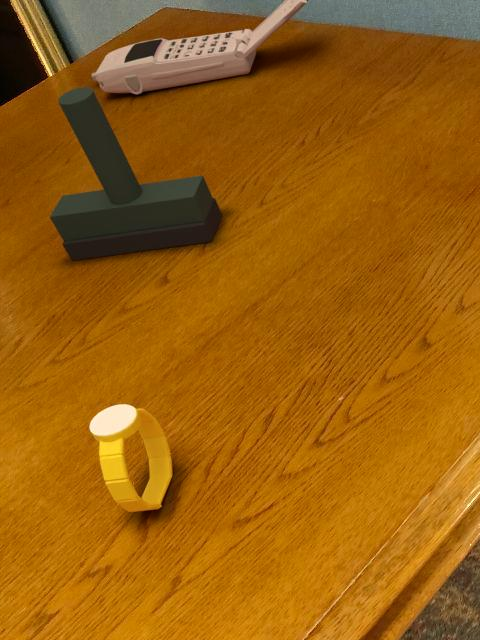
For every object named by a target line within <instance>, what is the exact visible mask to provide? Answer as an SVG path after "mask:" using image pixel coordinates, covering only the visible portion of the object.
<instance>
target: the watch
mask: <svg viewBox="0 0 480 640" xmlns="http://www.w3.org/2000/svg"><path fill="white" fill-rule="evenodd" d="M89 431H90V433H91V435H92V436H93V438H94V440H95V441H97V442H98V443H99V444H98V457H99V464H100V469H101V473H102V477H103V481H104V483H105V486H106V489H108V491H109V493H110V496H111V497H112V499H113V500H114V501H115V503H116V504H118V505H119V506H120V507H121V508H123V509H124V511H125V512H129V513H134V512H144V511H154V510H159V509H160V508H162V506H163V505H162V502H163V500H164V499H165V495H166V493H167V490H168V488H169V486H170V483H171V480H172V478H173V460H172V456H171V455H172V453H171V450H170V446H169V443H168V439H167V436H166V434H165V431H164V430H163V428H162V426H161V425H160V423H159V421H158V420H157V418H156V417H155V416H154V415H153V414H151V413H150V412H149V411H147V410H145V409H144V408H142V407H139V408H136V407H134V406H133V405H131V404H126V403H124V404H123V403H122V404H115V405H111V406H109V407H107V408H104V409H102V410H101V411H99V412H98V413H97V414H96V415H95V416H94V417H93V418H92V419H91V421H90V423H89ZM137 432H138V433H139V435H140V436H141V438H142V441H143V445H144V447H145V451H146V454H147V457H148V472H149V473H148V475H149V478H148V482H147V484H146V486H145V489H144V491H143V493H142V495H141V496H139V494H138V492H137V491H136V488H135V487H134V484H133V483H132V481H131V479H130V476H129V471H128V467H127V461H126V457H125V440H127V439H129V438H130V437H132V436H133V435H134V434H136V433H137Z"/></svg>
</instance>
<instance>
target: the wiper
mask: <svg viewBox="0 0 480 640" xmlns="http://www.w3.org/2000/svg"><path fill="white" fill-rule="evenodd" d="M57 102H58V104H59V106H60V109H61V110H62V112H63V114H64V116H65V118H66V119H67V122H68V124H69V126H70V127H71V129H72V131H73V133H74V135H75V137H76V139H77V141H78V142H79V145H80V146H81V149H82V150H83V152H84V154H85V156H86V158H87V160H88V162H89V164H90V166H91V167H92V169H93V171H94V173H95V176H96V177H97V179H98V181H99V183H100V185H101V187H102V189H99V190H93V191H91V190H90V191H83V192H79V193H71V194H65V195H61V197H60V199H59V200H58V201H57V203H56V205H55V207H54V208H53V210H52V212H51V214H50V215H49V219H50V221H51V222H52V224H53V226H54V227H55V230H56V231H57V233H58V234H59V236H60V238H61V239H62V243H61V245H62V247H63V248H64V250H65V252H66V253H67V255H68V257H69V258H70V260H71V262H73V261H80V260H87V259H88V260H89V259H95V258H101V257H103V258H104V257H110V256H117V255H124V254H131V253H139V252H146V251H154V250H162V249H167V248H176V247H183V246H190V245H199V244H206V243H211V242H213V240H214V237H215V235H216V232H217V229H218V227H219V225H220V222H221V219H222V216H223V212H222V211H221V208H220V206H219V204H218V202H217V199H216V198H215V197H213V195H212V193H211V191H210V188H209V186H208V184H207V182H206V179H205V177H204V175H195V176H189V177H182V178H175V179H174V178H173V179H169V180H167V179H166V180H161V181H153V182H148V183H146V182H145V183H140V182H139V181H138V179H137V176H136V174H135V173H134V171H133V168H132V166H131V165H130V162H129V160H128V158H127V156H126V153H125V152H124V150H123V148H122V146H121V144H120V142H119V140H118V138H117V136H116V134H115V131H114V130H113V128H112V126H111V123H110V122H109V120H108V117H107V116H106V113H105V111H104V110H103V107H102V105H101V103H100V102H99V99H98V97H97V95H96V93H95V91H94V89H93V88H92V87H89V86H81V87H76V88H73V89H70V90H67V91H66V92H64V93H62V94H61V95H60V96H59V97H58V99H57Z"/></svg>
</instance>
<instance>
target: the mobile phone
mask: <svg viewBox="0 0 480 640" xmlns="http://www.w3.org/2000/svg"><path fill="white" fill-rule="evenodd" d="M308 2H309V0H284V1H283V2H281V4H279V6H277V8H275V10H273V11H272V12H271V13H270V14H269V15H268V16H267V17H266V18H265V19H264V20H263V21H262V22H261V23H260V24H259V25H258V26H256V28H254V30H252V29H250V28H245V29H244V30H243V29H241V30H233V31H227V32H219V33H211V34H206V35H199V36H191V37H183V38H178V39H170V40H168V39H166V38H163V37H161V38H155V39H149V40H144V41H140V42H136V43H133V44H129V45H125V46H123V47H120V48H117V49H115V50H112V51H110V52H108V53H107V54H106V55H105V57H104V58H103V59H102V61H101V63H100V65H99V67H98V68H97V70H96V71H95V72H92V73H91V78H92V80H93V81H94V82H95V81H97V82H98V85H99V87H100V89H101V90H102V92H104V93H108V94H134V95H141V94H142V93H144V92H145V93H146V92H150V91H156V90H162V89H168V88H173V87H180V86H181V87H182V86H187V85H192V84H199V83H203V82H209V81H214V80H220V79H225V78H231V77H236V76H237V77H238V76H242V75H248V74H249V73H251V69H252V66H253V64H254V61H255V58H256V55H257V49H258V48H259V47H260V46H261V45H262V44H263V43H265V42H266V40H268V39H269V38H270V37H271V36H272V35H273V34H274V33H276V32H277V31H278V30H279V29H280V28H281V27H283V26H284V25H285V24H286V23H287V22H288V21H289V20H290V19H291V18H293V17H294V16H295V15H296V14H297V13H299V11H301V9H303V7H305V6H306V4H307V3H308Z"/></svg>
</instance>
